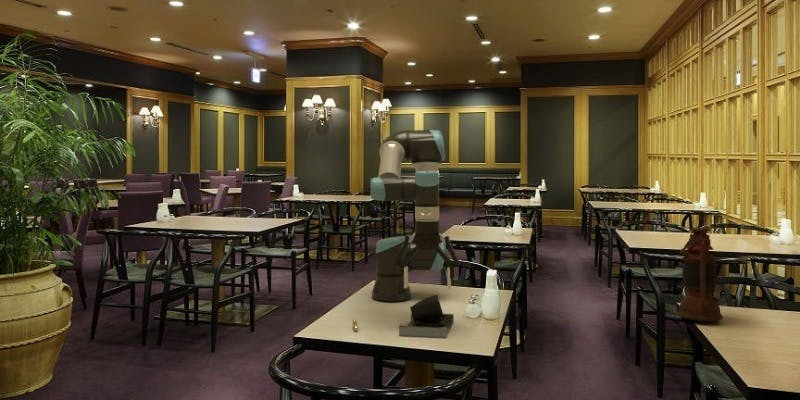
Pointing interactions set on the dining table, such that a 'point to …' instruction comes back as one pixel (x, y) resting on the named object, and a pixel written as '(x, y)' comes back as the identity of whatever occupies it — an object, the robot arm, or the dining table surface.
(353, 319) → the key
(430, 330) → the cradle
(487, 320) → the dining table surface
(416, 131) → the robot arm
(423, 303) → the mug
